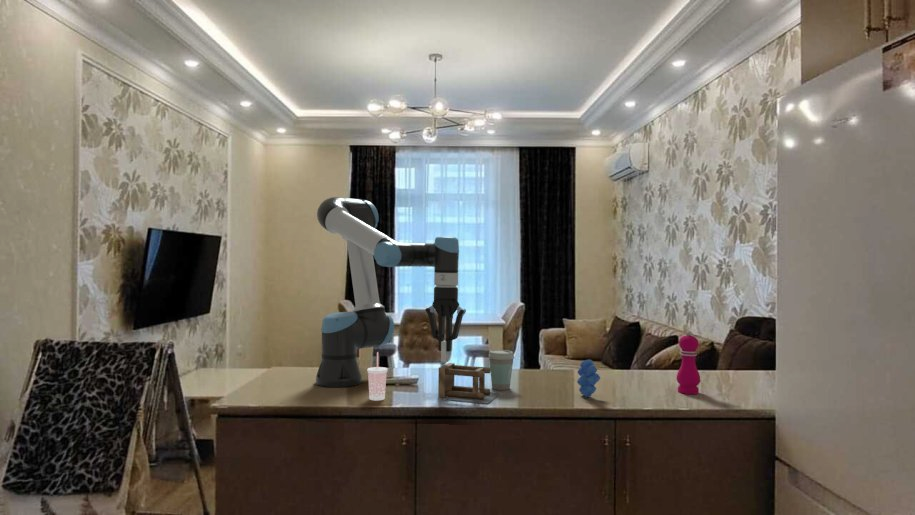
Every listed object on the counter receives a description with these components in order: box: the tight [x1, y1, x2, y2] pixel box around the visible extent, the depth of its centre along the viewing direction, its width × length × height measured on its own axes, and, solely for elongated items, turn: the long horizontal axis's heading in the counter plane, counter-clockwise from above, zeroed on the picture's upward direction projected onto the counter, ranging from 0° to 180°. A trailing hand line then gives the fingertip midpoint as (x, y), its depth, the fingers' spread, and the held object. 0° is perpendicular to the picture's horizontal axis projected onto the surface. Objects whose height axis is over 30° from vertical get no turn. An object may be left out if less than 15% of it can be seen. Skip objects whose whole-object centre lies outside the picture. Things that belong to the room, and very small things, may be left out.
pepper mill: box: [675, 330, 701, 395], centre depth 191 cm, size 7×7×20 cm
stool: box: [437, 362, 491, 400], centre depth 182 cm, size 9×9×14 cm
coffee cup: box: [487, 349, 515, 391], centre depth 194 cm, size 9×8×12 cm
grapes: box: [576, 359, 601, 398], centre depth 182 cm, size 12×7×12 cm, turn 10°
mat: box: [442, 391, 501, 405], centre depth 181 cm, size 14×14×1 cm
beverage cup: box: [366, 351, 389, 401], centre depth 177 cm, size 6×6×14 cm
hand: (444, 361), depth 184 cm, fingers closed
